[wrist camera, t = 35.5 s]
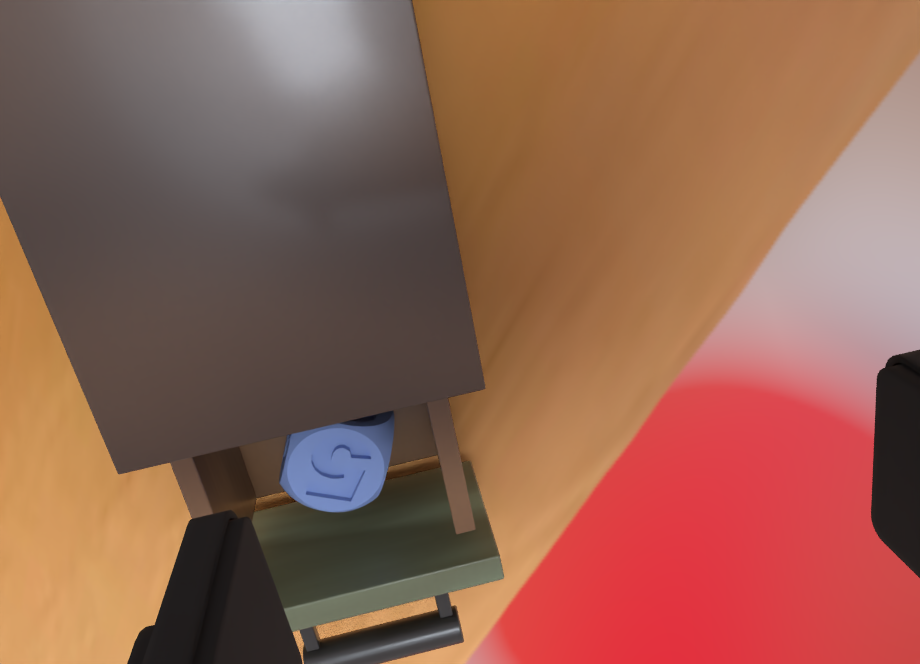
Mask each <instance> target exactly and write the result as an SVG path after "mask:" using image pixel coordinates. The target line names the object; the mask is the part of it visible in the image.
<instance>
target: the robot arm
mask: <svg viewBox="0 0 920 664" xmlns="http://www.w3.org/2000/svg"><path fill="white" fill-rule="evenodd" d="M875 412H876V413H875V434H874V435H875V436H874V459H873V482H872V483H873V484H872V506H871V518H872V523H873V526H874V529H875V531H876V532H877V534H878V536H879V538H880V539H881V540H882V541H883V542H884V543H885V544H886V545H887V546H888V547H889V548H890V549H891V550H892V551H893V552H894V553H895V554H896V555H897V556H898V557H899V558H900V559H901V560H902V561H903V562H904V563H905V564H906V565H907V566H908V567H909V568H910V569H911V570H912V571H913V572H914V573H915V574H916V575H917V576H918V577H919V578H920V350H916V351H912V352H908V353H904V354H899V355H895V356H892V357H891V358H890V359H889V360H888V362H887V363H886V367H885V368H883V369H882V370H880V371H879V373H878V376H877V387H876V411H875ZM127 664H302V659H301V655H300V652H299V649H298V646H297V644H296V641H295V638H294V635H293V633H292V630H291V627H290V625H289V622H288V619H287V616H286V614H285V611H284V608H283V605H282V603H281V600H280V597H279V594H278V592H277V589H276V586H275V583H274V581H273V578H272V575H271V572H270V570H269V567H268V564H267V562H266V559H265V556H264V553H263V551H262V548H261V545H260V542H259V540H258V537H257V534H256V531H255V529H254V526H253V524H252V521H251V520H250V518H249V517H243V518H238V517H237V515H236V514H235V513H234V511H232V510H227V511H223V512H219V513H215V514H210V515H206V516H202V517H197V518H193V519H191V520H190V521H189V523H188V525H187V528H186V531H185V534H184V537H183V540H182V544H181V547H180V550H179V553H178V556H177V559H176V562H175V565H174V568H173V571H172V574H171V577H170V580H169V583H168V586H167V589H166V592H165V595H164V598H163V601H162V604H161V607H160V610H159V613H158V616H157V619H156V622H155V625H153V626H148V627H145V628H144V629H143V630H142V631H141V632H140V633H139V635H138V637H137V639H136V641H135V643H134V646H133V649H132V652H131V655H130V658H129V660H128V663H127Z"/></svg>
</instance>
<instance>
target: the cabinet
mask: <svg viewBox="0 0 920 664" xmlns="http://www.w3.org/2000/svg"><path fill="white" fill-rule="evenodd" d="M0 197H1V199H2V202H3V204H4V206H5V209H6V211H7V213H8V216H9V218H10V220H11V223H12V225H13V227H14V230H15V232H16V235H17V237H18V239H19V242H20V244H21V246H22V249H23V251H24V253H25V256H26V258H27V260H28V263H29V265H30V267H31V270H32V272H33V275H34V277H35V279H36V282H37V284H38V286H39V289H40V291H41V293H42V296H43V298H44V300H45V303H46V305H47V308H48V310H49V312H50V315H51V317H52V319H53V322H54V324H55V326H56V329H57V331H58V333H59V336H60V338H61V341H62V343H63V345H64V348H65V350H66V352H67V355H68V357H69V359H70V362H71V364H72V366H73V369H74V371H75V374H76V376H77V378H78V381H79V383H80V385H81V388H82V390H83V392H84V395H85V397H86V399H87V402H88V404H89V406H90V409H91V411H92V414H93V416H94V418H95V421H96V423H97V425H98V428H99V430H100V432H101V435H102V437H103V439H104V442H105V444H106V447H107V449H108V451H109V454H110V456H111V458H112V461H113V463H114V465H115V468H116V470H117V472H118V474H123V473H127V472H131V471H135V470H140V469H144V468H148V467H153V466H157V465H161V464H166V463H170V462H174V461H178V460H183V459H187V458H191V457H196V456H200V455H204V454H208V453H213V452H217V451H221V450H226V449H230V448H234V447H239V446H243V445H247V444H251V443H256V442H260V441H264V440H269V439H273V438H277V437H282V436H286V435H290V434H294V433H299V432H303V431H307V430H312V429H316V428H320V427H324V426H329V425H333V424H337V423H342V422H346V421H350V420H355V419H359V418H363V417H367V416H372V415H376V414H380V413H385V412H389V411H393V410H398V409H402V408H406V407H410V406H415V405H419V404H423V403H428V402H432V401H436V400H440V399H445V398H449V397H453V396H458V395H462V394H466V393H471V392H475V391H479V390H483V389H485V382H484V377H483V372H482V366H481V361H480V356H479V350H478V345H477V340H476V335H475V329H474V324H473V319H472V314H471V308H470V303H469V298H468V292H467V287H466V282H465V277H464V271H463V266H462V261H461V256H460V250H459V245H458V240H457V234H456V229H455V224H454V219H453V213H452V208H451V203H450V198H449V192H448V187H447V182H446V176H445V171H444V166H443V161H442V155H441V150H440V145H439V140H438V134H437V129H436V124H435V118H434V113H433V108H432V103H431V97H430V92H429V87H428V82H427V76H426V71H425V66H424V61H423V55H422V50H421V45H420V39H419V34H418V29H417V24H416V18H415V13H414V8H413V3H412V0H0Z"/></svg>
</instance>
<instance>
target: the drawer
mask: <svg viewBox="0 0 920 664" xmlns="http://www.w3.org/2000/svg"><path fill="white" fill-rule="evenodd" d="M393 412H394V436H393V444H392V450H391V456H390V461H389V466H394V465H398V464H402V463H406V462H410V461H415V460H419V459H423V458H427V457H431V456H436V455H438V459H439V463H440V468H436V469H432V470H428V471H424V472H419V473H415V474H411V475H407V476H403V477H398V478H394V479H390V480H386V481H384V484H383V487H382V490H381V492H380V494H379V496H378V497H377V498H376V499H374V500H373V501H372V502H370V503H368V504H367V505H365V506H363V507H360V508H358V509H355V510H352V511H347V512H326V511H320V510H316V509H313V508H310V507H307V506H305V505H303V504H301V503H299V502H294V503H290V504H285V505H281V506H277V507H273V508H269V509H265V510H260V511H256V512H254V509H255V504H256V498H259V497H263V496H267V495H272V494H276V493H280V492H284V491H285V490H284V489H283V488H282V486H281V485H280V484H279V477H280V470H281V464H282V459H283V453H284V448H285V443H286V438H287V435H286V436H282V437H277V438H273V439H269V440H264V441H260V442H256V443H251V444H247V445H243V446H239V447H234V448H230V449H226V450H221V451H217V452H213V453H208V454H204V455H200V456H196V457H191V458H187V459H183V460H178V461H174V462H170V463H171V466H172V469H173V471H174V474H175V476H176V479H177V481H178V484H179V486H180V489H181V492H182V494H183V497H184V499H185V502H186V504H187V507H188V510H189V512H190V515H191V517H192V519H193V518H197V517H202V516H206V515H210V514H215V513H219V512H223V511H227V510H232V511H234V513H235V514H236V515H237V517H238V518H243V517H249V518H250V520H251V521H252V524H253V526H254V529H255V531H256V534H257V537H258V540H259V542H260V545H261V548H262V551H263V553H264V556H265V559H266V562H267V564H268V567H269V570H270V572H271V575H272V578H273V581H274V583H275V586H276V589H277V592H278V594H279V597H280V600H281V603H282V605H283V608H284V611H285V614H286V616H287V619H288V622H289V625H290V627H291V630H292V632H293V631H297V630H300V633H301V636H302V639H303V642H304V647H303V660H304V664H380V663H384V662H388V661H392V660H396V659H400V658H404V657H408V656H412V655H416V654H419V653H423V652H427V651H431V650H435V649H439V648H443V647H447V646H451V645H455V644H459V643H463V642H464V639H463V634H462V629H461V624H460V620H459V615H458V611H457V607H456V606H451V602H450V598H449V594H448V593H449V592H453V591H457V590H461V589H465V588H469V587H473V586H477V585H481V584H485V583H489V582H493V581H497V580H501V579H504V574H503V569H502V564H501V559H500V555H499V551H498V548H497V545H496V542H495V538H494V535H493V532H492V529H491V525H490V522H489V519H488V515H487V512H486V509H485V506H484V502H483V499H482V496H481V492H480V489H479V486H478V483H477V479H476V476H475V473H474V469H473V466H472V463H471V461H465V462H461V457H460V452H459V448H458V443H457V438H456V433H455V429H454V424H453V419H452V415H451V410H450V405H449V401H448V398H445V399H440V400H436V401H432V402H428V403H423V404H419V405H415V406H410V407H406V408H402V409H398V410H393ZM389 466H388V467H389ZM433 596H435V600H436V604H437V608H438V610H435V611H431V612H427V613H423V614H419V615H415V616H411V617H407V618H403V619H399V620H395V621H391V622H387V623H383V624H379V625H375V626H371V627H367V628H363V629H359V630H355V631H351V632H347V633H343V634H340V635H336V636H332V637H328V638H324V639H320V637H319V634H318V631H317V628H316V626H317V625H321V624H325V623H329V622H333V621H337V620H341V619H345V618H349V617H353V616H357V615H361V614H365V613H369V612H373V611H377V610H381V609H385V608H389V607H393V606H397V605H401V604H405V603H409V602H413V601H417V600H421V599H425V598H429V597H433Z"/></svg>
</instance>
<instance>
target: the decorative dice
mask: <svg viewBox="0 0 920 664" xmlns="http://www.w3.org/2000/svg"><path fill="white" fill-rule="evenodd" d="M393 436H394V412H393V411H389V412H385V413H380V414H376V415H372V416H367V417H363V418H359V419H355V420H350V421H346V422H342V423H337V424H333V425H329V426H324V427H320V428H316V429H312V430H307V431H303V432H299V433H294V434H290V435H287V438H286V443H285V448H284V453H283V459H282V464H281V470H280V477H279V484H280V485H281V486H282V488H283V489H284V490H285V492H286V493H287V494H288V495H289V496H290V497H292V498H293V499H294V500H296V501H297V502H299V503H301V504H303V505H305V506H307V507H310V508H313V509H316V510H320V511H326V512H347V511H352V510H355V509H358V508H360V507H363V506H365V505H367V504H368V503H370V502H372V501H373V500H374V499H376V498H377V497H378V496H379V494H380V492H381V490H382V487H383V484H384V481H385V478H386V474H387V470H388V466H389V461H390V456H391V450H392V444H393Z"/></svg>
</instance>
